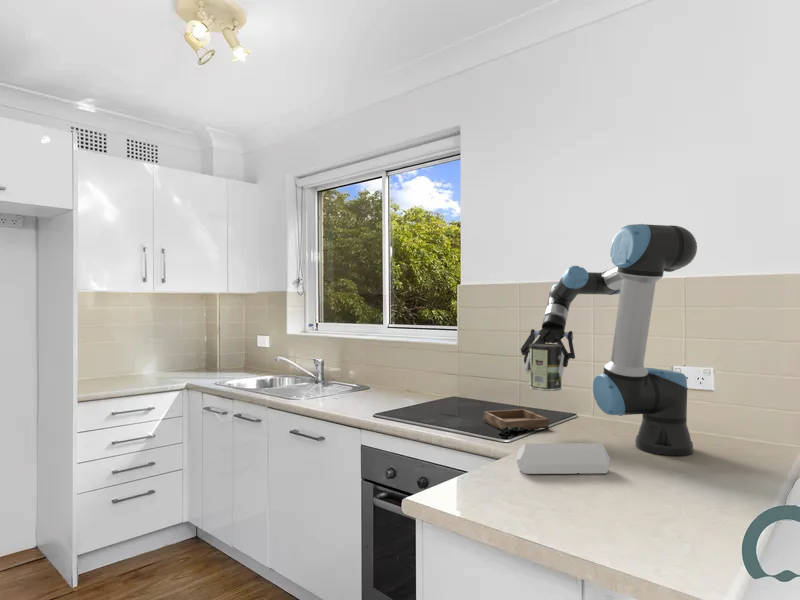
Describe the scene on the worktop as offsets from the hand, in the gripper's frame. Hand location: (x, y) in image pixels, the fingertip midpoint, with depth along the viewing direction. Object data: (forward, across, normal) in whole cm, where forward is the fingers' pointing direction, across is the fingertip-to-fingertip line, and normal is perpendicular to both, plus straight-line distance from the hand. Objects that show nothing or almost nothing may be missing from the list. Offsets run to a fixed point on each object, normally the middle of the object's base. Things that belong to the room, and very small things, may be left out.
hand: (543, 372), depth 173 cm
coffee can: (+2, 0, -6) cm, 6 cm away
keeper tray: (+9, +11, -20) cm, 24 cm away
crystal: (+37, -13, +9) cm, 41 cm away
